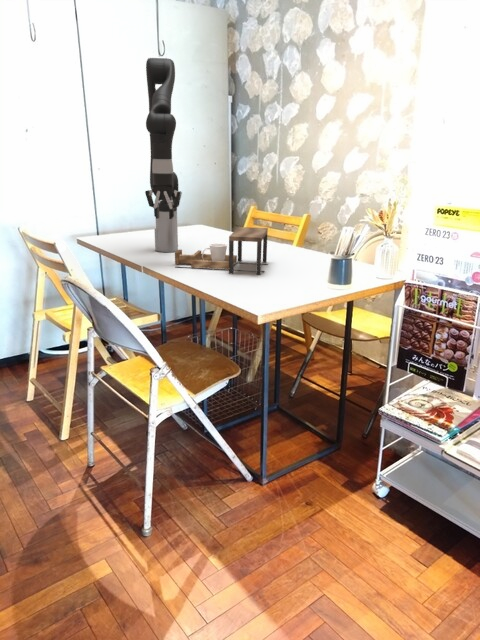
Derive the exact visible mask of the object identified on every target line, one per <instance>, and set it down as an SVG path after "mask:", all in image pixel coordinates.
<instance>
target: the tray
mask: <svg viewBox="0 0 480 640" xmlns="http://www.w3.org/2000/svg"><path fill="white" fill-rule="evenodd" d="M203 259H204V260H205V261H203ZM203 259H202V250H201V249H200V250H197V251H196V252H195V253H194V254H183V249H178V250H177V251H174V264H175V265H179V264H188V265H191V267H194V268H213V269H229V254H226V256H225V260H224V262H220V261H212V258H211V253H203ZM236 262H237V263H238V254H237V255H234V254H233V267H234V266H235V264H237V263H236Z"/></svg>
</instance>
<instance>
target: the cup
mask: <svg viewBox="0 0 480 640" xmlns="http://www.w3.org/2000/svg"><path fill="white" fill-rule="evenodd" d="M227 248H228V244H226V243H223V242H221V243H219V242H218V243H217V242H216V243H215V242H214V243H210V244H209V247H205V248H204V249H202V251H201V254H202V259H203V254H205V251H207V250H209V251H210V252H209V253H210V254H211V258H212V261H220V262H224V260H225V256H226V255H227V250H228V249H227ZM203 261H205V260H204V259H203Z"/></svg>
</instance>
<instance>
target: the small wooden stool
mask: <svg viewBox="0 0 480 640" xmlns="http://www.w3.org/2000/svg"><path fill="white" fill-rule="evenodd" d="M268 232H269V231H268V227H249V226H248V227H247V226H243V227H242V226H238V227H237V228H236V229H235V230H234V231H232V233H231V234H230V235H229V236H228V242H229V243H228V255H229V270H228V274H230V273H232V274H234V271H233V270H234V266H233V255H234V246H235V243H234V242H237V262H242V261H243V259H242V258H243V257H242V256H243V254H242V253H243V248H242V247H243V242H248V243H249V242H250V243H251V242H254V243H255V242H256V263H257V264H256V269H255V271H256V272H255V275H257V276H261V273H262V272H261V271H262V265H261V264H262V263H263V264H267V259H268V258H267V256H268ZM262 241H263V243H262Z"/></svg>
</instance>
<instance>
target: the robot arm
mask: <svg viewBox="0 0 480 640" xmlns="http://www.w3.org/2000/svg"><path fill="white" fill-rule="evenodd" d="M145 63H146V64H145V71H146V72H145V75H146V84H147V85H146V86H147V95H148V115H147V117H146V119H145V120H146V121H145V127H146V130H147V132H148V133H149V140H150V141H149V142H150V143H149V144H150V145H149V147H150V165H149V166H150V167H149V186H150V189H148V190H145V192H144V193H145V197H146V200H147V202H148V206H149V207H151V208H152V209H153V212H154V213H153V214H154V215H153V216H154V218H155V228H154V248H155V249H154V250H155V251H156V252H160V253H175V252H176V251H178V250H179V238H178V237H179V234H178V233H179V232H178V229H179V228H178V207H179V206H180V203H181V198H182V195H183V192H182V191H180V190H179V178H178V175H177V173H176V172H174V166H173V165H174V163H173V152H172V151H173V149H172V148H173V140H174V135H175V131H176V127H177V121H176V118H175V116H174V114H172V96H173V95H172V94H173V91H174V86H175V79H176V78H175V77H176V67H175V62H174V60H172V59H171V58H167V57H164V58H161V57H160V58H159V57H148V58H147V60H146V61H145ZM156 85H160V86H159V87H158V88H156ZM153 195H154V197H155V199H153Z"/></svg>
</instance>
